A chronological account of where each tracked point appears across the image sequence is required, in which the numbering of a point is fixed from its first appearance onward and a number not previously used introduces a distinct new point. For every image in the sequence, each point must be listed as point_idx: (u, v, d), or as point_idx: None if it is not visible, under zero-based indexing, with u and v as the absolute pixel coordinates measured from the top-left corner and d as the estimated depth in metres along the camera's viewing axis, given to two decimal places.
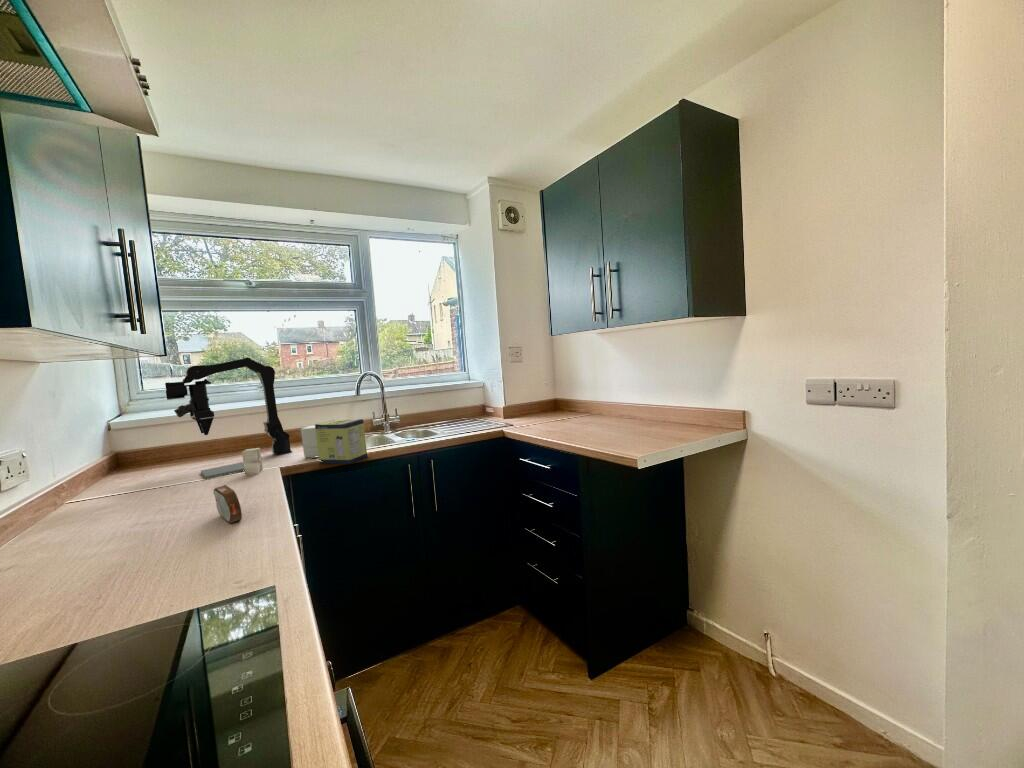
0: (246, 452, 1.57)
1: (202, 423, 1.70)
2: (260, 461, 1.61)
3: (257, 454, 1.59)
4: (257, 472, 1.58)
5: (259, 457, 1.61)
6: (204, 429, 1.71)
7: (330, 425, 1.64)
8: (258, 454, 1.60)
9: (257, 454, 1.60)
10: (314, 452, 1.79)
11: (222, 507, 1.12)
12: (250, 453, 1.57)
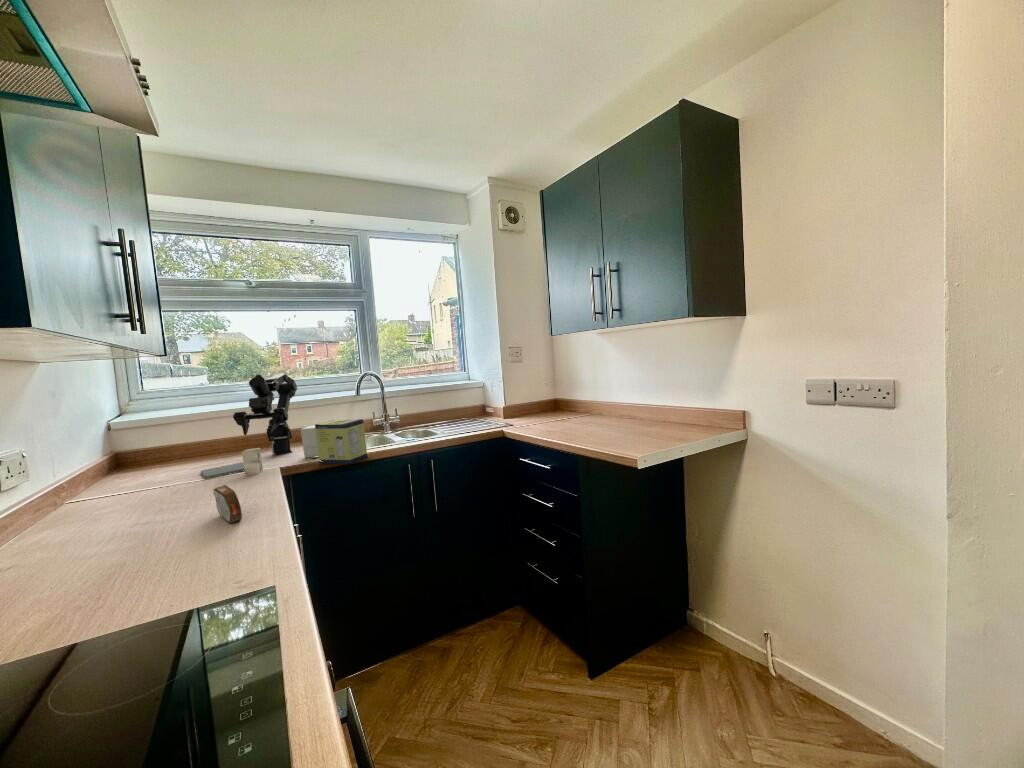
0: (246, 452, 1.57)
1: (275, 420, 1.72)
2: (260, 461, 1.61)
3: (257, 454, 1.59)
4: (257, 472, 1.58)
5: (259, 457, 1.61)
6: (273, 426, 1.70)
7: (330, 425, 1.64)
8: (258, 454, 1.60)
9: (257, 454, 1.60)
10: (314, 452, 1.79)
11: (222, 507, 1.12)
12: (250, 453, 1.57)
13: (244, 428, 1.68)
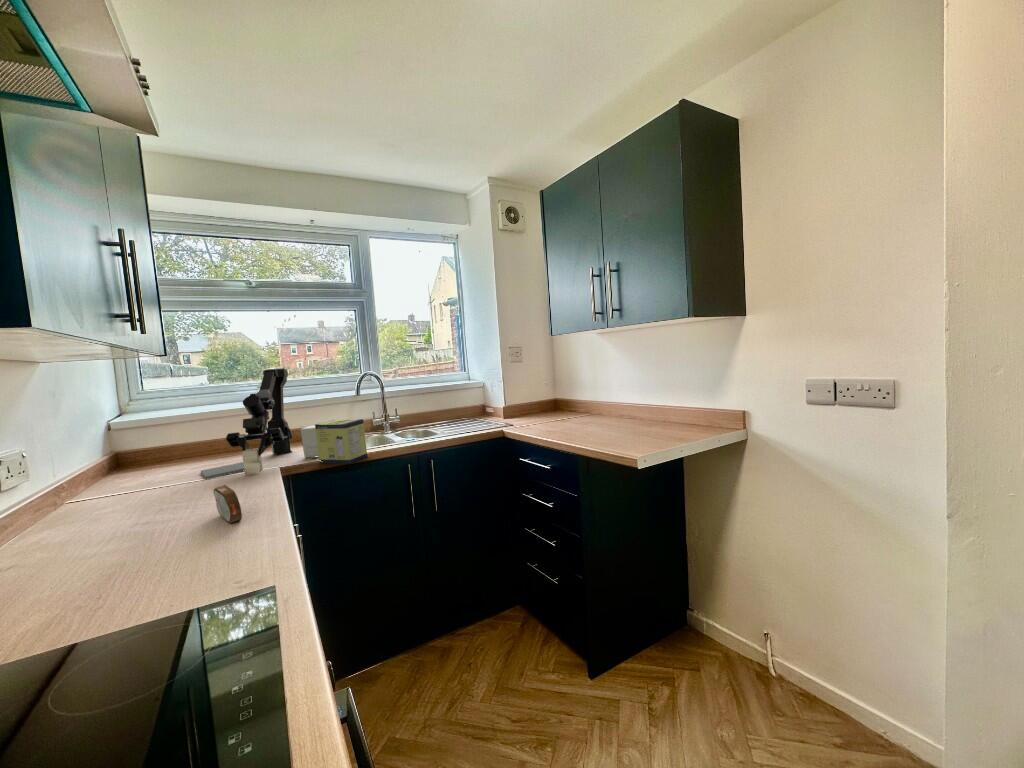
0: (246, 452, 1.57)
1: (264, 442, 1.63)
2: (260, 461, 1.61)
3: (257, 454, 1.59)
4: (257, 472, 1.58)
5: (259, 457, 1.61)
6: (262, 448, 1.62)
7: (330, 425, 1.64)
8: None
9: (257, 454, 1.60)
10: (314, 451, 1.79)
11: (222, 507, 1.12)
12: (250, 453, 1.57)
13: (244, 449, 1.60)
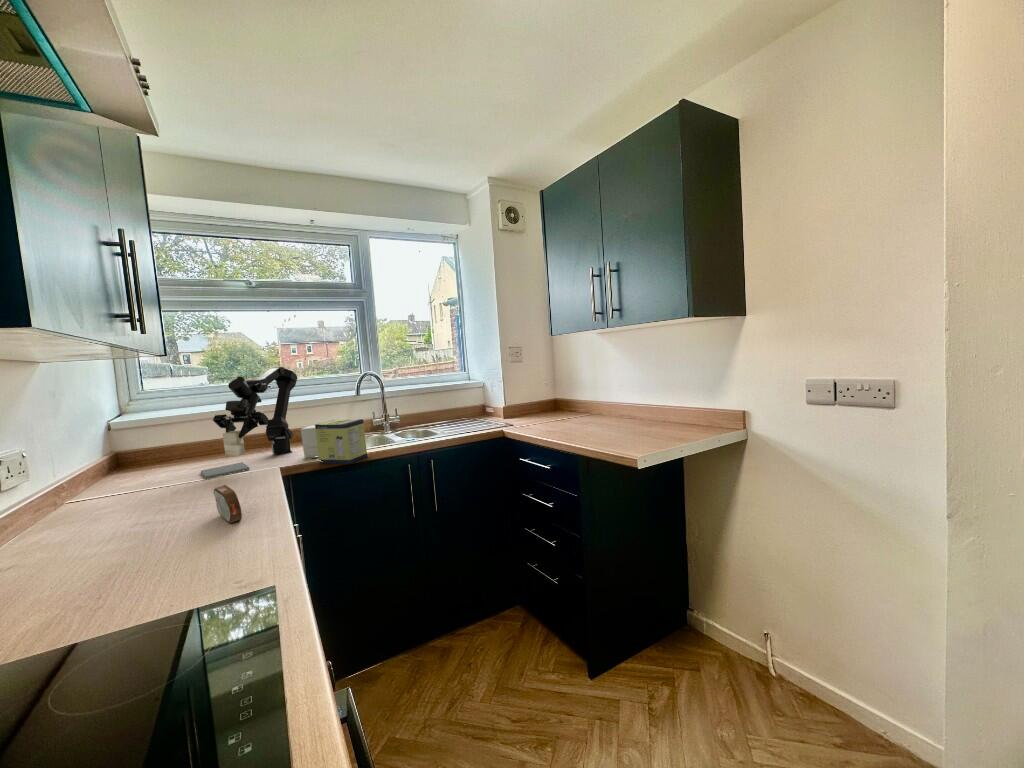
0: (226, 434, 1.59)
1: (247, 425, 1.64)
2: (241, 444, 1.63)
3: (237, 437, 1.60)
4: (236, 454, 1.60)
5: (240, 440, 1.62)
6: (243, 431, 1.63)
7: (330, 425, 1.64)
8: (238, 437, 1.61)
9: (238, 437, 1.61)
10: (314, 451, 1.79)
11: (222, 507, 1.12)
12: (229, 436, 1.59)
13: (227, 431, 1.62)
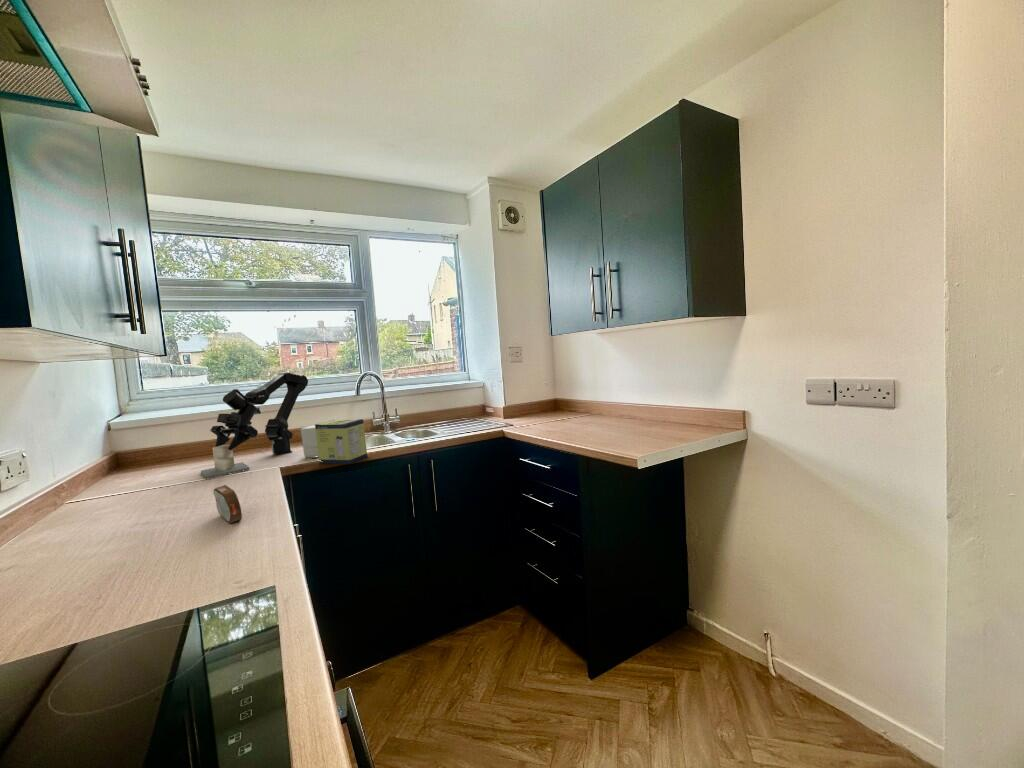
0: (215, 448, 1.64)
1: (237, 437, 1.67)
2: (230, 458, 1.67)
3: (225, 451, 1.65)
4: (223, 468, 1.64)
5: (229, 454, 1.66)
6: (233, 443, 1.66)
7: (330, 425, 1.64)
8: (227, 451, 1.65)
9: (225, 451, 1.65)
10: (314, 452, 1.79)
11: (222, 507, 1.12)
12: (217, 450, 1.64)
13: (217, 443, 1.68)
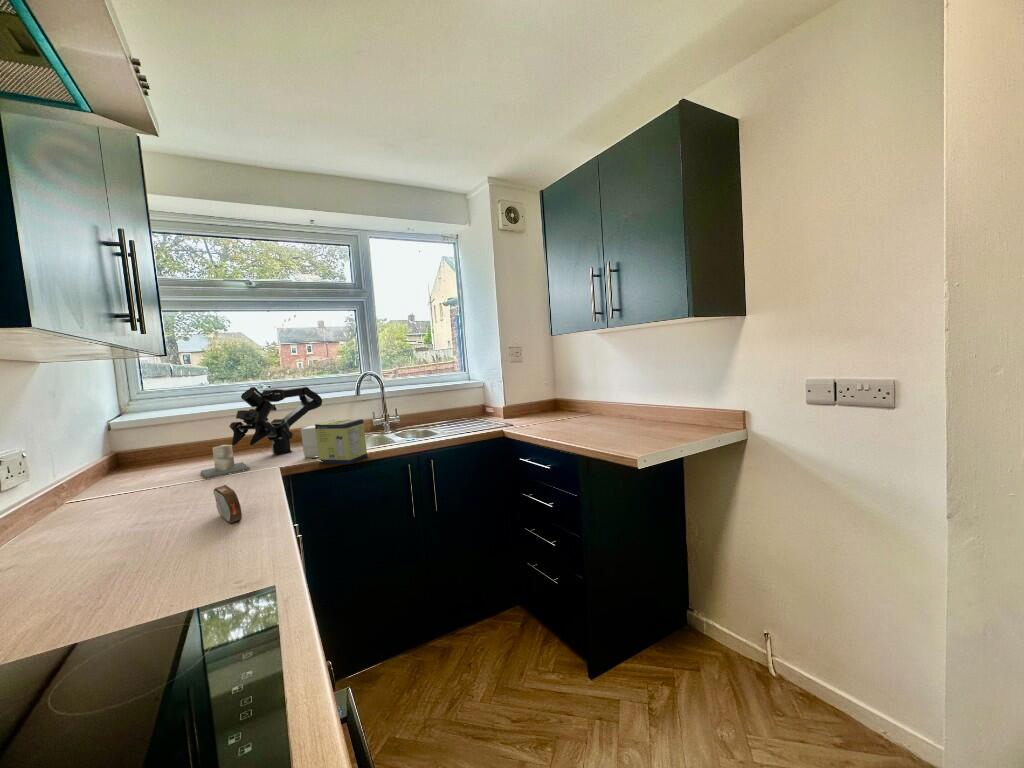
0: (215, 448, 1.64)
1: (258, 433, 1.75)
2: (230, 458, 1.67)
3: (225, 451, 1.65)
4: (223, 468, 1.64)
5: (229, 454, 1.66)
6: (254, 439, 1.74)
7: (330, 425, 1.64)
8: (227, 451, 1.65)
9: (226, 451, 1.65)
10: (314, 452, 1.79)
11: (222, 507, 1.12)
12: (217, 450, 1.64)
13: (234, 438, 1.76)
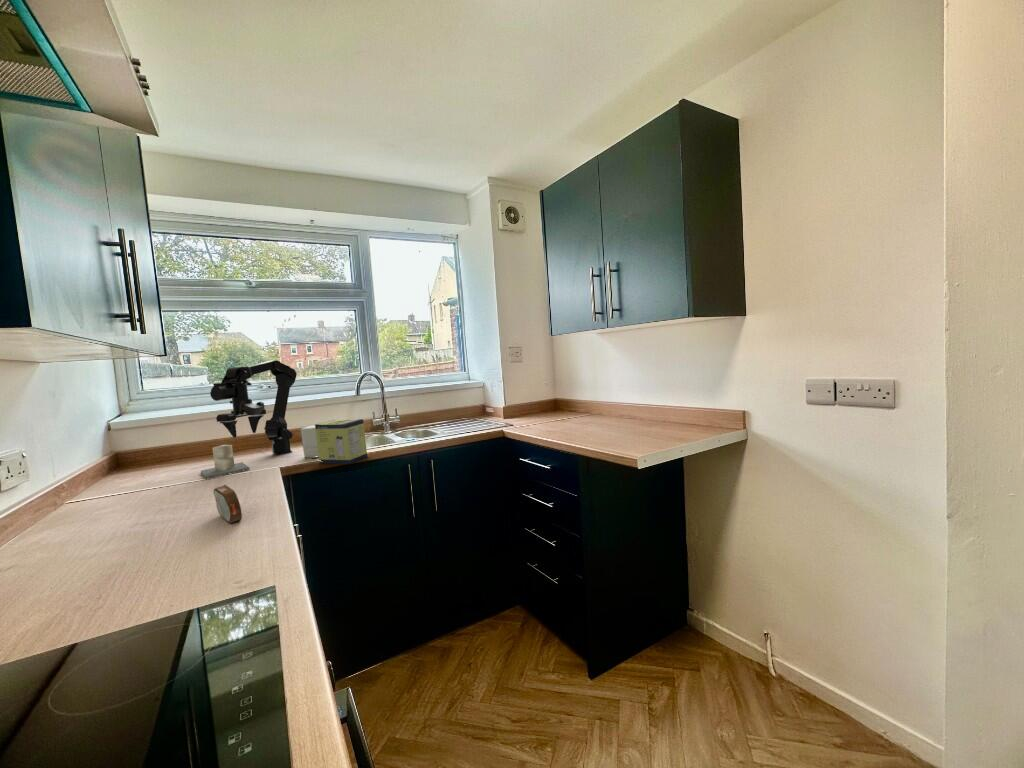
0: (215, 448, 1.64)
1: None
2: (230, 458, 1.67)
3: (225, 451, 1.65)
4: (223, 468, 1.64)
5: (229, 454, 1.66)
6: None
7: (330, 425, 1.64)
8: (227, 451, 1.65)
9: (226, 451, 1.65)
10: (314, 452, 1.79)
11: (222, 507, 1.12)
12: (217, 450, 1.64)
13: (235, 431, 1.71)
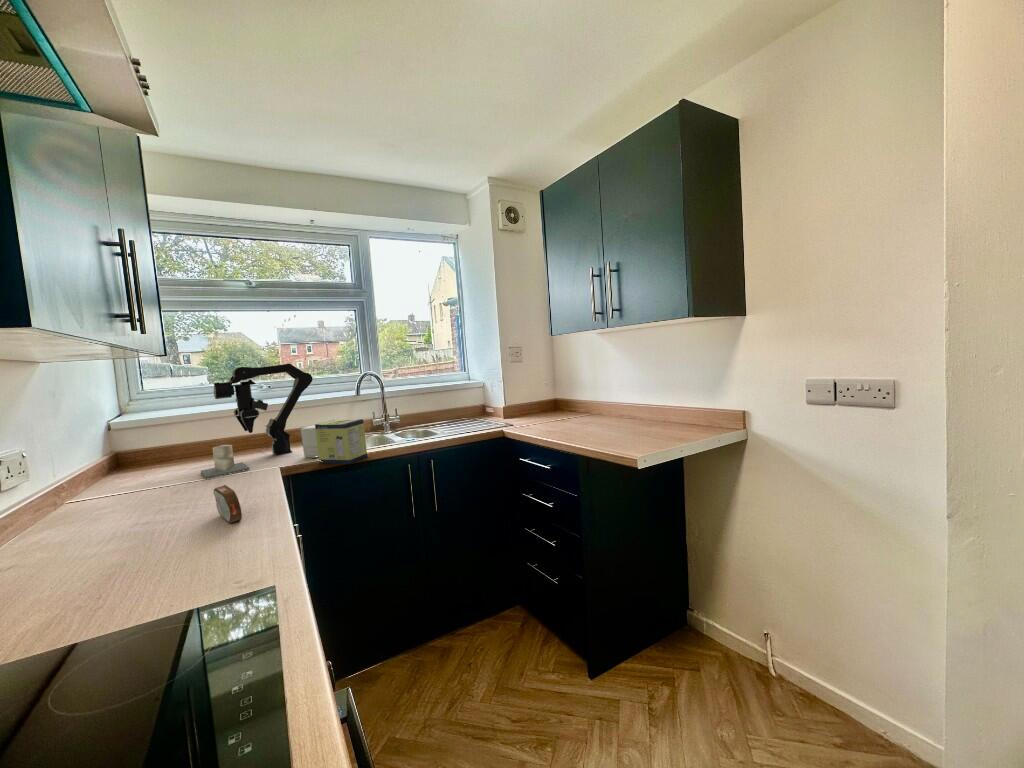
0: (215, 448, 1.64)
1: None
2: (230, 458, 1.67)
3: (225, 451, 1.65)
4: (223, 468, 1.64)
5: (229, 454, 1.66)
6: None
7: (330, 425, 1.64)
8: (227, 451, 1.65)
9: (226, 451, 1.65)
10: (314, 452, 1.79)
11: (222, 507, 1.12)
12: (217, 450, 1.64)
13: None
